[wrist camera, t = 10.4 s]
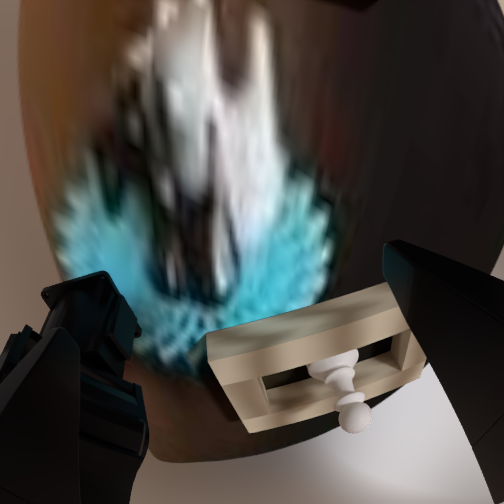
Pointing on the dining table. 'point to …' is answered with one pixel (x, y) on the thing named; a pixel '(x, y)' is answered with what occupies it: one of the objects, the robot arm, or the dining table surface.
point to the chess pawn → (344, 389)
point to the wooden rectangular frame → (312, 356)
